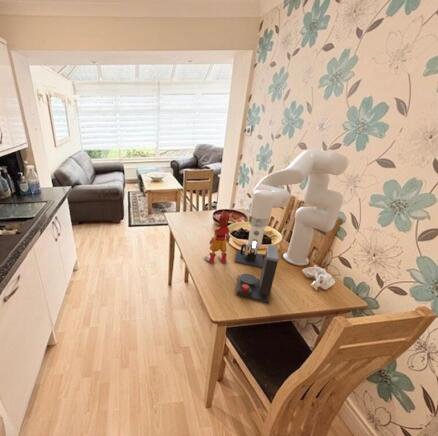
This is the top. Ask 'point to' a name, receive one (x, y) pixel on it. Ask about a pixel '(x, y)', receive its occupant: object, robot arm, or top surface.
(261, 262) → the plate
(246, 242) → the kettle
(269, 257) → the brewer column
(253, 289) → the coffee maker
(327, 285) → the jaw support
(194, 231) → the top surface
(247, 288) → the power button
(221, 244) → the toy
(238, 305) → the top surface
